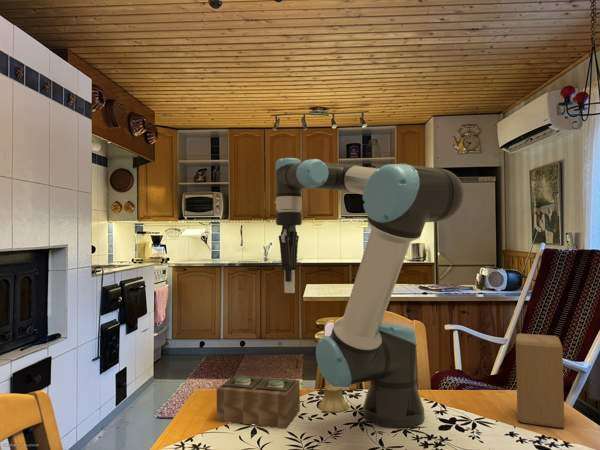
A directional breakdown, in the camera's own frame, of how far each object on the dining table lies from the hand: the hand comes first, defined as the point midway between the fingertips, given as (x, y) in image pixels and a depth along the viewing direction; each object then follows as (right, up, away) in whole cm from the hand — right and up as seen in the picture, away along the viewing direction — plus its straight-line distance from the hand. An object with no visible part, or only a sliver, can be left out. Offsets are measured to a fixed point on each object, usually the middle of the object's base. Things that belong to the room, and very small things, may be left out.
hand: (289, 292), depth 137 cm
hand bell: (+12, -29, -11) cm, 33 cm away
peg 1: (-12, -29, -16) cm, 35 cm away
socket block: (-7, -29, -17) cm, 35 cm away
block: (+62, -28, -21) cm, 71 cm away
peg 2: (-3, -28, -18) cm, 34 cm away
